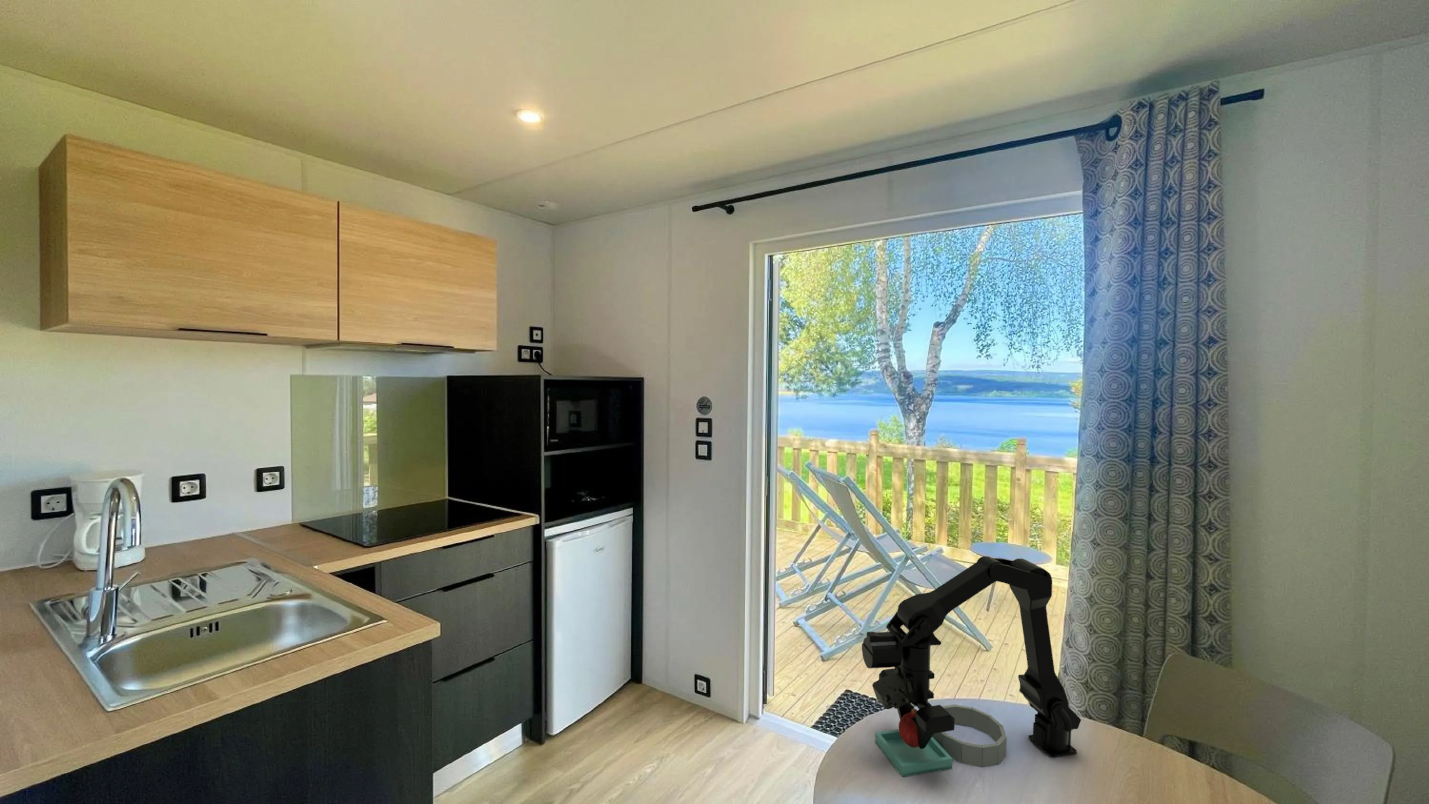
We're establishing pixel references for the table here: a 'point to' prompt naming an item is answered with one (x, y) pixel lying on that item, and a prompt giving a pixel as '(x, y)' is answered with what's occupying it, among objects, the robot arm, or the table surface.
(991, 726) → the ring
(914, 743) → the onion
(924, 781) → the table surface
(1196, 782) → the table surface
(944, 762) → the tray
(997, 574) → the robot arm
